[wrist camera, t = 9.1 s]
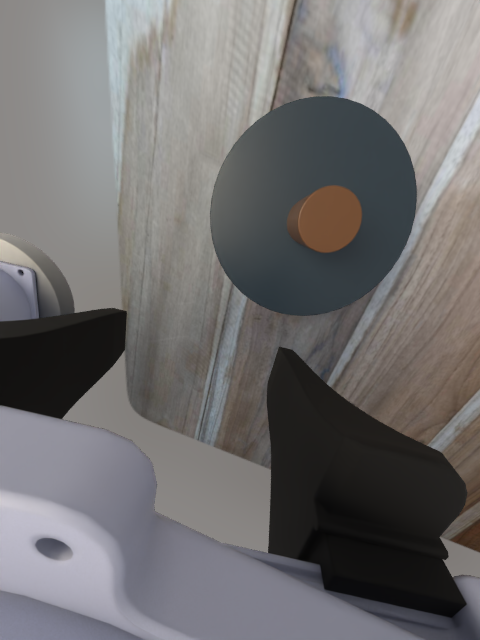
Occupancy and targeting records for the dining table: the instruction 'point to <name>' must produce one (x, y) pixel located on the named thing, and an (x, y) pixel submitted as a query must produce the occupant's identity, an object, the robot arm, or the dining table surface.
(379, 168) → the lid
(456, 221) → the dining table surface
